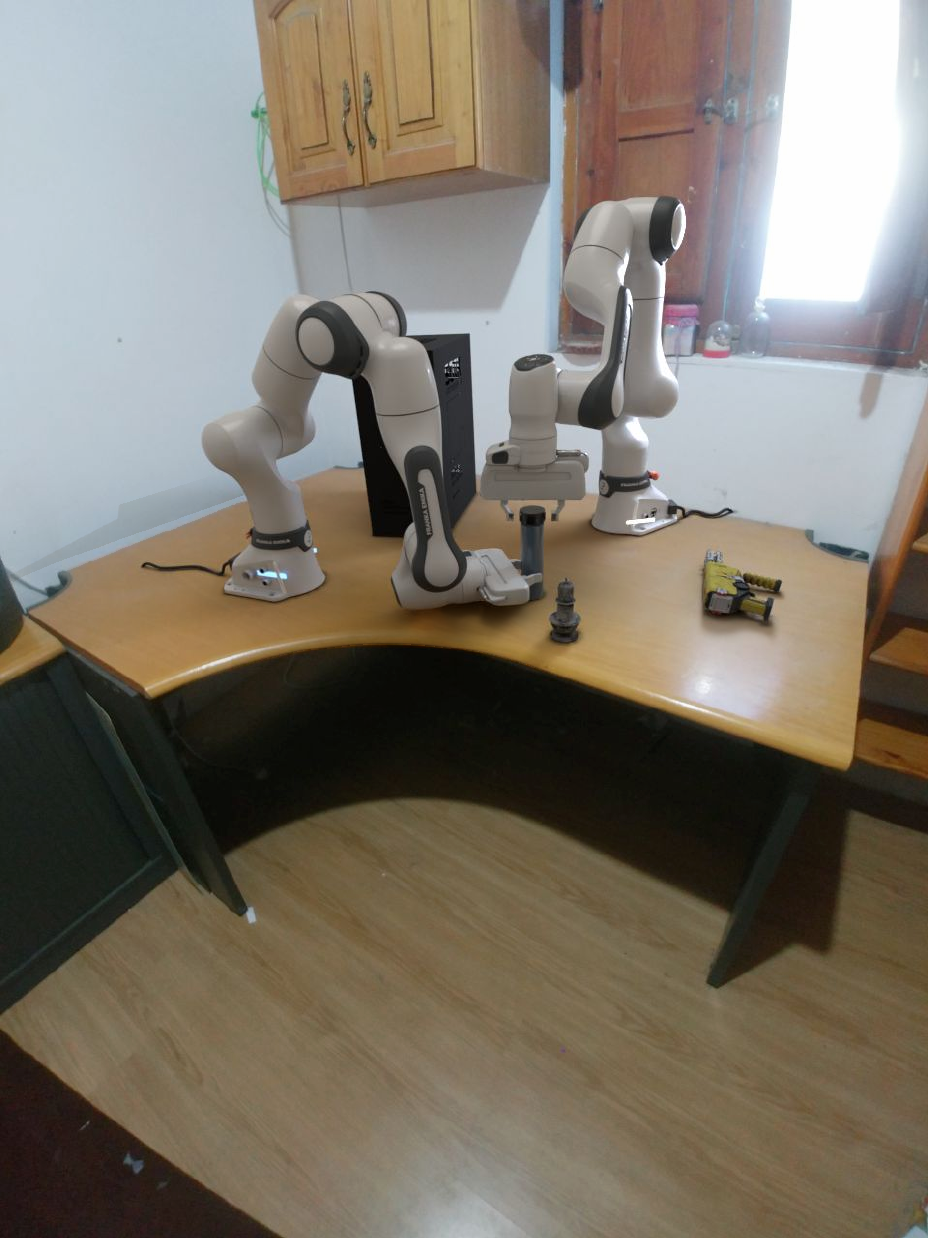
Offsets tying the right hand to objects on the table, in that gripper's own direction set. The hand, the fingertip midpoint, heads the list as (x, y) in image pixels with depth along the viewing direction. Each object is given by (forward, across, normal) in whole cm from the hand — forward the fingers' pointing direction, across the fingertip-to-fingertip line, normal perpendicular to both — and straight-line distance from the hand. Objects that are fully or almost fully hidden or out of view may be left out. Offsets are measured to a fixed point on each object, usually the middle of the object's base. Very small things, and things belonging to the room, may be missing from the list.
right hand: (532, 520), depth 119 cm
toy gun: (+17, -42, -2) cm, 46 cm away
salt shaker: (+17, -7, +16) cm, 24 cm away
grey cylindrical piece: (+17, 0, 0) cm, 17 cm away
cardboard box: (+17, +32, -50) cm, 61 cm away
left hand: (+11, -1, 0) cm, 11 cm away
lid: (-2, 0, 0) cm, 2 cm away
